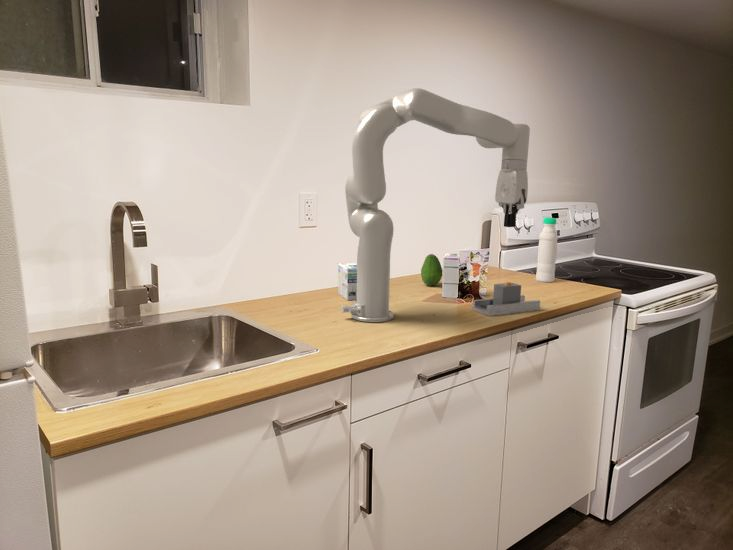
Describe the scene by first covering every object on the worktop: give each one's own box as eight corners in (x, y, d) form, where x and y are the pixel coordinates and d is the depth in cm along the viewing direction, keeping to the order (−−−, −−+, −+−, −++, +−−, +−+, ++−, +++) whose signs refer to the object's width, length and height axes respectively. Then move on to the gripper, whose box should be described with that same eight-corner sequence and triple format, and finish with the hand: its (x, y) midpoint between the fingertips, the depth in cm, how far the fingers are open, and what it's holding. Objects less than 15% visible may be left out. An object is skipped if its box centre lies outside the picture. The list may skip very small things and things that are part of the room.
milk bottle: (556, 282, 218) (562, 218, 214) (538, 282, 218) (543, 218, 214) (551, 279, 225) (556, 217, 220) (533, 278, 225) (538, 216, 221)
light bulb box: (366, 299, 186) (366, 267, 183) (346, 301, 183) (347, 268, 181) (355, 292, 195) (356, 262, 193) (337, 293, 193) (337, 263, 191)
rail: (489, 316, 167) (490, 306, 167) (471, 309, 175) (472, 300, 175) (540, 310, 176) (541, 300, 176) (521, 303, 184) (521, 294, 183)
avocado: (417, 286, 207) (419, 254, 204) (424, 282, 214) (425, 251, 212) (438, 288, 204) (440, 256, 201) (444, 284, 211) (445, 253, 209)
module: (501, 309, 172) (503, 284, 171) (492, 306, 176) (494, 281, 174) (519, 307, 175) (521, 282, 174) (510, 304, 179) (512, 280, 177)
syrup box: (458, 298, 189) (460, 256, 186) (441, 297, 190) (443, 255, 188) (459, 295, 195) (461, 253, 192) (442, 293, 196) (444, 253, 193)
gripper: (488, 165, 174) (484, 224, 178) (520, 166, 161) (515, 229, 164) (508, 166, 177) (503, 224, 181) (540, 166, 164) (535, 229, 167)
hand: (509, 226), depth 172 cm, fingers closed
